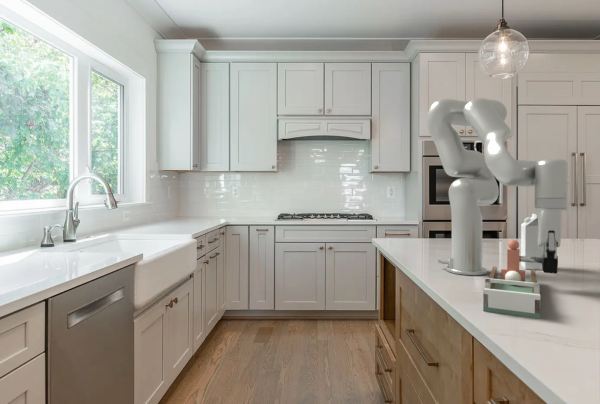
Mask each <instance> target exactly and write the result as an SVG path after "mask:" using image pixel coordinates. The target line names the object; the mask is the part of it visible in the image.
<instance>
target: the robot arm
mask: <svg viewBox="0 0 600 404" xmlns="http://www.w3.org/2000/svg"><path fill="white" fill-rule="evenodd" d="M507 113H508V111H507V107H506V106H505V104H504V103H502V102H501V101H500V100H495V99H489V98H483V97H480V98H479V97H477V98H473V99H471V100H470V101H467V100H466V101H465V100H459V99H452V98H442V99H439V100H438V99H437V100H436V101H435V102H433V103H432V104H431V106H430V107H429V109H428V113H427V117H426V127H427V129H428V132H429V135H430V137H431V139H432V141H433V143H434V145H435V147H436V151H437V154H438V156H439V158H440V162H441V165H442V168H443V170H444V172H445V174H446V175H447V176H449V177H452V178H453V177H454V178H457V179H455V180H454V181H453V182H452V183H451V184H450V186H449V188H448V200H449V204H450V211H451V212H450V213H451V214H450V215H451V256H449V257H447V258H444V257H438V258H437V263H438V264H441V265H447V266H446V271H447V272H449V273H452V274H457V275H463V276H465V275H466V276H482V275H487V274H488V269H487V268H486V267H483V215H482V212H481V210H480V207H479V206H481V207H482V206H483V207H484V206H489V205H492V204H494V203H495V202H496V201H497V199H498V198H499V195H500V194H499V193H500V189H499V185H498V182H499V183H500V184H502V185H503V186H507V187H522V188H523V187H526V188H527V187H528V188H529V187H534V202H533V203H534V206H533V207H534V211H538V214H537V215H538V245H539V246H540V247H541V246H542V245H544V252H543V255H544V257H545V258H543V266H542V269H543V270H542V271H543V273H545V274H554V275H555V274H557V273H558V267H557V262H558V263H559V258H558V259H557V256H558V252H557V251H558V248H560V247H561V241H562V224H563V223H562V222H563V215H562V214H563V213H562V212H563V211H568V186H569V185H568V181H569V180H568V177H569V176H568V175H569V174H568V173H569V172H568V171H569V170H568V168H569V166H568V162H567V160H566V159H562V158H548V159H539V160H537V161H536V160H534V161H533V160H525V159H524V160H523V159H521V160H520V159H515V158H514V157H513V156H512V154H511V152H510V151H509V150H508V149H507V147H506V144H505V142H506V141H507V140H508V139H510V137H511V135H512V130H511V128H510V127H509V125H508V124H507V123H506V118H507V117H508V115H507ZM453 125H454V126H461V127H462V126H463V127H471V129H472V131H473V132H474V133H475V135H476V136H477V137H478V139H479V140H480V141H481V143H482V144H483V153H482V152H480V151H477V150H473V149H472V150H470V149H466V147H465V146H464V143H463V142H462V139H461V136H460V135H459V133H458V132H457V130H455V128H454V127H453ZM497 181H498V182H497Z"/></svg>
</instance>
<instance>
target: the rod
mask: <svg viewBox="0 0 600 404" xmlns="http://www.w3.org/2000/svg"><path fill="white" fill-rule="evenodd" d="M507 247H508V248H507V249H506V251H507V254H506V255H507V256H506V257H507V258H506V261H507V263H506V268H501V269H500V277H501V280H505V275H506V273H507V272H509V271H516V272H518V273H519V274H520V276H521V281H522V282H525V279H526V269H524V270H523V269H520V263H521V262H532V263H542V266H543V258H545V257H544V255H542V257H529V256H521V255H520V254H521V248H520V249H519V247H520V243H519V241H518V240H517V239H510V240H509V241H508V242H507ZM557 259H558V260H559V256H558V255H557ZM558 266H559V261H558V262H557V268H559V267H558Z"/></svg>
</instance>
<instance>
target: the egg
mask: <svg viewBox="0 0 600 404" xmlns="http://www.w3.org/2000/svg"><path fill="white" fill-rule="evenodd" d="M505 280H512V281H521V276H520V274H519V273H518V272H516V271H509V272H507V273H506V275H505Z"/></svg>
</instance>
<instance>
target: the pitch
mask: <svg viewBox="0 0 600 404" xmlns="http://www.w3.org/2000/svg"><path fill="white" fill-rule="evenodd" d="M497 270H498V267H497V266H493V267H492V268H491V272H490V274H489V277H488V278H491V279H501V276H498V273H497V272H498V271H497ZM525 282H532V283H538V279H537V274H536V269H530V279H529V278H525ZM490 289H497V290H506V291H515V292H525V293H534V287H530V286H520V285H510V284H500V283H491V282H490ZM485 295H486V294H485ZM485 295H484V294H483V297H485V298H486V297H487V296H488V294H487V296H485ZM483 297H482V298H483ZM485 298H483V299H484V300H482V301H486V300H487V299H488V298H487V299H485ZM537 302H539V303H540V304H541V299H540V300H538V301H536V300H535V303H536V304H538V305H537V306H538V308H537V306H536V304H535V313H528V312H520V311H512V310H505V309H497V308H489V307H488V305H487V304H488V300H487V302H486V303H487V304H485V305H484V303H485V302H484V303H483V302H482V304H483V305H482V309H483V310H482V311H483V312H488V313H494V314H502V315H503V314H504V315H511V316H518V317H525V318H530V319H538V318H539V320H540V319H541V305H540V306H539V303H537ZM483 306H484V307H483ZM486 306H487V307H486ZM536 309H540V310H536ZM536 311H540V312H536ZM536 313H540V314H536Z"/></svg>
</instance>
